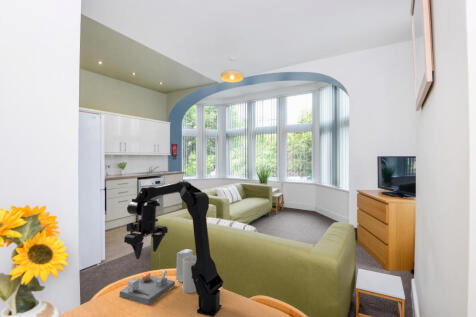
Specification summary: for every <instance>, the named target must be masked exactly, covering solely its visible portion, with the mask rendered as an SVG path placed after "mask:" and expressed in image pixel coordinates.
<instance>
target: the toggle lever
mask: <svg viewBox="0 0 476 317" xmlns="http://www.w3.org/2000/svg"><path fill="white" fill-rule="evenodd" d="M167 274H168V271H167V270H166V269H164V270H162V274H161V277H160V278H161V279H160V280H159V281H161V284H163V283H164V278H165V277H166V275H167Z"/></svg>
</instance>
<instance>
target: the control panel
mask: <svg viewBox="0 0 476 317" xmlns="http://www.w3.org/2000/svg"><path fill="white" fill-rule="evenodd" d="M160 279H161V277H158V276H154V275H150V279H148V280H142V278H141V279H139V289H138V290H136V291H135V292H133V293H131V292H128V291H127V288H128V286H126V287H124V288H123V289H120V290H119V298H122V299H126V300H129V301H133V302H136V303H140V304H144V305H147V306H149V305H151V304H152V303H154V302H155V301H156V300H158V299H160V296H161V297H162V296H163V295H165V294H166V293H167V292H169V291H170V290H171V289H170V288H172V287H173V286H174V285H175V286H176V280H171V279H168V277H166V276H165V278H164V283H163V284H161V281H159V280H160ZM175 286H174V287H175ZM174 287H173V288H174ZM173 288H172V289H173ZM169 289H170V290H169ZM168 290H169V291H168ZM165 292H166V293H165ZM164 293H165V294H164Z"/></svg>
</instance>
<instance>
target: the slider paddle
mask: <svg viewBox="0 0 476 317" xmlns="http://www.w3.org/2000/svg"><path fill="white" fill-rule="evenodd" d="M139 280H140V279H139V278H131V279H130V280H128V281H127V287H128V288H127V291H128V292H131V293H133V292H135V291H136V290H138V289H139Z"/></svg>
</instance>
